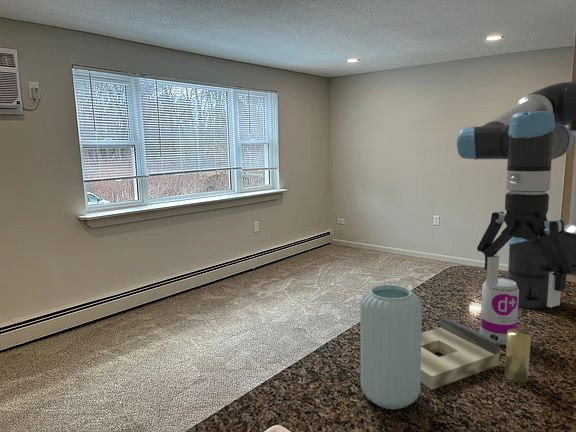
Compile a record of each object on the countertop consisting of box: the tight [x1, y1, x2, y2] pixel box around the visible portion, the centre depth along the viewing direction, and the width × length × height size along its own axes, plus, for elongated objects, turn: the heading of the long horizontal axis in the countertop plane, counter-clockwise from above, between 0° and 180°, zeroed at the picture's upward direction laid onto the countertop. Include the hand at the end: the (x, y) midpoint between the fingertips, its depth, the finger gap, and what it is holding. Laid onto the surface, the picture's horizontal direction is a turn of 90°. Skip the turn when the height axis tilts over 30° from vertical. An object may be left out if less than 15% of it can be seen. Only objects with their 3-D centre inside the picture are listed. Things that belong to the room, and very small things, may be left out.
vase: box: [359, 284, 423, 410], centre depth 82 cm, size 12×12×22 cm
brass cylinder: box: [504, 328, 532, 384], centre depth 88 cm, size 4×4×10 cm
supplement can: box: [479, 277, 519, 346], centre depth 106 cm, size 8×8×15 cm
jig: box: [420, 316, 501, 391], centre depth 97 cm, size 20×16×6 cm
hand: (520, 294), depth 86 cm, fingers open, 13 cm apart
